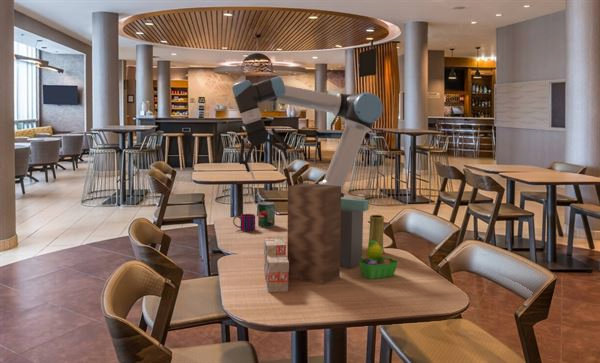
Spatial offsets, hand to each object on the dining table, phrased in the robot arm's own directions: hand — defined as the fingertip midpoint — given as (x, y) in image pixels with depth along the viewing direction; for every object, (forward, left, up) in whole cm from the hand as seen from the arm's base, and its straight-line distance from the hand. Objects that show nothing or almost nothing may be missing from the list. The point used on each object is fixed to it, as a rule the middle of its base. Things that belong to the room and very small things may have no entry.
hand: (270, 173), depth 208 cm
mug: (+2, -37, -30) cm, 48 cm away
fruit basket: (-25, +44, -30) cm, 59 cm away
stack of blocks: (+9, +40, -30) cm, 51 cm away
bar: (-17, +24, -10) cm, 31 cm away
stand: (-4, +40, -30) cm, 50 cm away
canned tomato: (-10, -43, -30) cm, 53 cm away
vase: (-38, +17, -30) cm, 51 cm away
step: (-19, +27, -30) cm, 44 cm away
